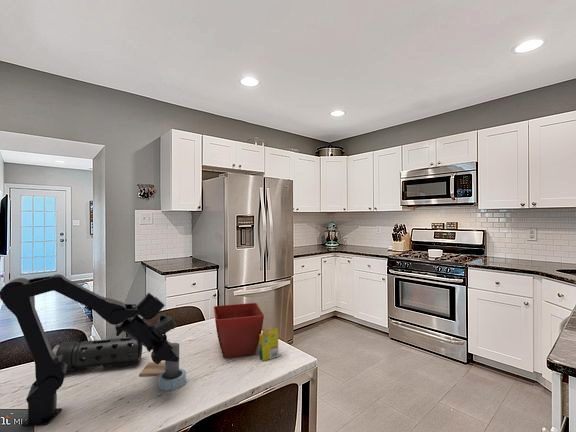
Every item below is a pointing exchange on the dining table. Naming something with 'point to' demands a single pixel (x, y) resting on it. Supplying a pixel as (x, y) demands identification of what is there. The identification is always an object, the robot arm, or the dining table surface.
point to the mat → (153, 369)
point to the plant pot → (238, 328)
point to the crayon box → (268, 344)
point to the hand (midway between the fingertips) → (176, 357)
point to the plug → (172, 364)
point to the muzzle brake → (99, 353)
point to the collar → (171, 381)
